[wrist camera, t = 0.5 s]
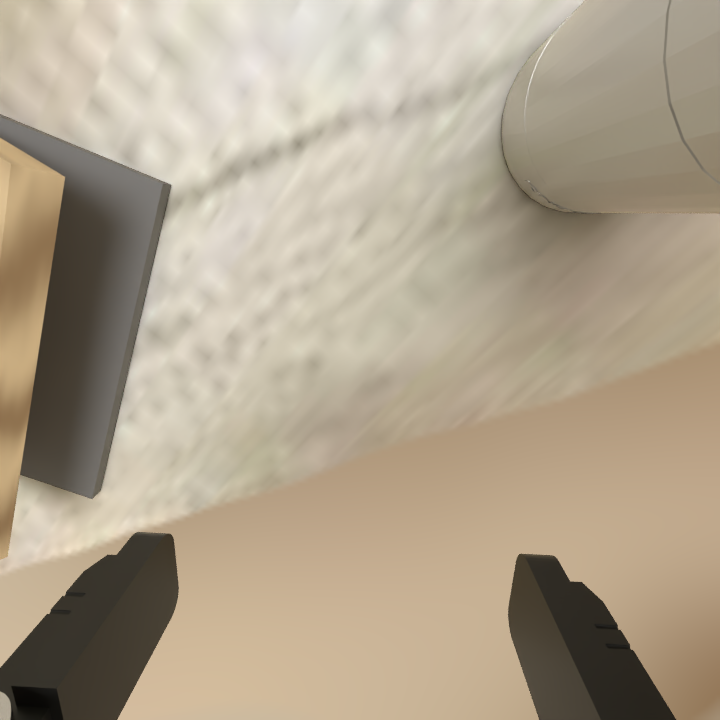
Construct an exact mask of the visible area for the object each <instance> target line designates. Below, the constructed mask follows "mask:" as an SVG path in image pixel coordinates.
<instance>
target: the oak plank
mask: <svg viewBox="0 0 720 720" xmlns="http://www.w3.org/2000/svg"><path fill="white" fill-rule="evenodd" d="M64 181H65V177H64V176H63V175H61V174H59V173H58V172H56V171H54V170H53V169H51V168H49V167H48V166H46V165H45V164H43V163H41V162H40V161H38V160H36V159H35V158H33V157H31V156H30V155H28V154H26V153H25V152H23V151H21V150H20V149H18V148H16V147H15V146H13V145H11V144H10V143H8V142H6V141H5V140H3V139H1V138H0V560H1V559H3V558H5V557H7V556H8V550H9V543H10V537H11V530H12V523H13V517H14V510H15V504H16V497H17V491H18V484H19V477H20V471H21V464H22V458H23V451H24V444H25V438H26V431H27V425H28V418H29V412H30V405H31V398H32V392H33V385H34V379H35V372H36V365H37V359H38V352H39V346H40V339H41V333H42V326H43V319H44V313H45V306H46V300H47V293H48V286H49V280H50V273H51V267H52V260H53V254H54V247H55V240H56V234H57V227H58V221H59V214H60V207H61V201H62V194H63V188H64Z"/></svg>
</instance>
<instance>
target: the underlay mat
mask: <svg viewBox="0 0 720 720" xmlns="http://www.w3.org/2000/svg"><path fill="white" fill-rule="evenodd" d="M0 138H1V139H3V140H5V141H6V142H8V143H10V144H11V145H13V146H15V147H16V148H18V149H20V150H21V151H23V152H25V153H26V154H28V155H30V156H31V157H33V158H35V159H36V160H38V161H40V162H41V163H43V164H45V165H46V166H48V167H49V168H51V169H53V170H54V171H56V172H58V173H59V174H61V175H63V176H64V177H65V181H64V188H63V194H62V201H61V207H60V214H59V221H58V227H57V234H56V240H55V247H54V254H53V260H52V267H51V273H50V280H49V286H48V293H47V300H46V306H45V313H44V319H43V326H42V333H41V339H40V346H39V352H38V359H37V365H36V372H35V379H34V385H33V392H32V398H31V405H30V412H29V418H28V425H27V431H26V438H25V444H24V451H23V458H22V464H21V471H20V475H23V476H26V477H29V478H32V479H35V480H38V481H41V482H44V483H47V484H50V485H52V486H55V487H58V488H61V489H64V490H67V491H70V492H73V493H76V494H79V495H82V496H85V497H88V498H91V499H93V498H94V497H95V496H96V495H97V494H98V493H99V492H100V490H101V486H102V482H103V477H104V473H105V469H106V464H107V460H108V456H109V451H110V447H111V443H112V438H113V434H114V430H115V425H116V421H117V417H118V412H119V408H120V404H121V399H122V395H123V391H124V386H125V382H126V378H127V373H128V369H129V365H130V360H131V356H132V352H133V347H134V343H135V339H136V334H137V330H138V326H139V321H140V317H141V313H142V308H143V304H144V300H145V295H146V291H147V287H148V282H149V278H150V274H151V269H152V265H153V261H154V256H155V252H156V248H157V243H158V239H159V235H160V230H161V226H162V222H163V217H164V213H165V209H166V204H167V200H168V196H169V191H170V187H171V185H170V184H168V183H165V182H163V181H161V180H158V179H156V178H153V177H151V176H149V175H146V174H144V173H141V172H139V171H136V170H134V169H132V168H129V167H127V166H124V165H122V164H119V163H117V162H115V161H112V160H110V159H107V158H105V157H102V156H100V155H98V154H95V153H93V152H90V151H88V150H85V149H83V148H81V147H78V146H76V145H73V144H71V143H68V142H66V141H64V140H61V139H59V138H56V137H54V136H52V135H49V134H47V133H44V132H42V131H39V130H37V129H35V128H32V127H30V126H27V125H25V124H22V123H20V122H18V121H15V120H13V119H10V118H8V117H5V116H3V115H1V114H0Z"/></svg>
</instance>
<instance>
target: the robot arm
mask: <svg viewBox="0 0 720 720" xmlns="http://www.w3.org/2000/svg"><path fill="white" fill-rule="evenodd" d="M501 136H502V144H503V152H504V156H505V159H506V162H507V165H508V168H509V171H510V173H511V174H512V176H513V178H514V179H515V181H516V182H517V184H518V186H519V187H520V188H521V189H522V190H523V191H524V192H525V193H526V194H527V195H528V196H529V197H530V198H532V199H533V200H535V201H537V202H538V203H540V204H542V205H543V206H545V207H548V208H552V209H555V210H558V211H562V212H574V213H716V214H720V0H585V1H584V2H583V3H582V4H581V5H580V6H579V7H578V8H577V9H576V10H575V11H574V12H573V13H572V14H571V15H570V16H569V17H568V18H567V19H566V20H565V21H564V22H563V23H562V24H561V25H560V26H559V27H558V28H557V29H556V31H555V32H554V33H553V34H552V35H551V36H550V37H549V38H548V39H547V40H546V41H545V42H544V43H543V44H542V45H541V46H540V47H539V48H538V49H537V50H536V51H535V52H534V53H533V54H532V55H531V56H530V57H529V59H528V60H527V62H526V63H525V65H524V66H523V67H522V69H521V70H520V72H519V73H518V75H517V77H516V79H515V81H514V83H513V85H512V87H511V90H510V92H509V94H508V97H507V101H506V105H505V109H504V112H503V119H502V134H501ZM175 557H176V556H175V548H174V539H173V537H172V535H171V534H165V533H164V534H163V533H146V532H137V533H135V534H134V535H133V536H132V537H131V538H130V539H129V540H128V542H127V543H126V544H125V545H124V546H123V548H122V549H121V550H120V551H119V553H118V554H117V555H107V556H106V557H104V558H102V559H101V560H100V561H98V562H97V563H95V564H94V565H92V566H91V567H90V568H88V569H87V570H85V571H84V572H83V573H82V574H81V575H80V577H79V578H78V579H77V580H76V581H75V582H74V583H73V585H72V586H71V587H70V588H69V589H68V590H67V592H66V595H65V596H62V597H61V598H60V600H59V601H58V602H57V603H56V604H55V605H54V607H53V608H52V609H51V612H50V614H47V615H46V616H45V617H44V618H43V619H42V621H41V622H40V623H39V624H38V625H37V626H36V627H35V628H34V630H33V631H32V632H31V633H30V634H29V635H28V637H27V638H26V639H25V640H24V641H23V642H22V644H21V645H20V646H19V647H18V648H17V649H16V650H15V652H14V653H13V654H12V655H11V656H10V658H9V659H8V660H7V661H6V662H5V663H4V664H3V666H2V667H1V668H0V720H117V719H118V717H119V715H120V713H121V711H122V710H123V708H124V706H125V704H126V702H127V700H128V698H129V696H130V694H131V693H132V691H133V689H134V687H135V685H136V683H137V681H138V679H139V677H140V676H141V674H142V672H143V670H144V668H145V666H146V664H147V663H148V661H149V659H150V657H151V655H152V653H153V651H154V649H155V648H156V646H157V644H158V642H159V640H160V638H161V636H162V634H163V633H164V630H165V629H166V627H167V625H168V623H169V621H170V619H171V617H172V615H173V613H174V610H175V607H176V603H177V598H178V589H179V587H178V576H177V566H176V558H175ZM508 617H509V627H510V633H511V637H512V640H513V643H514V646H515V649H516V652H517V655H518V658H519V660H520V664H521V667H522V670H523V673H524V676H525V679H526V682H527V685H528V688H529V691H530V693H531V696H532V699H533V702H534V705H535V708H536V711H537V714H538V717H539V720H676V719H675V717H674V715H673V714H672V712H671V711H670V709H669V707H668V706H667V704H666V702H665V701H664V700H663V698H662V696H661V694H660V693H659V691H658V690H657V688H656V686H655V685H654V684H653V682H652V680H651V678H650V677H649V675H648V673H647V672H646V670H645V669H644V667H643V665H642V664H641V662H640V661H639V659H638V657H637V656H636V654H635V652H634V651H633V650H631V649H630V644H629V643H628V641H627V640H626V638H625V636H624V635H623V633H622V632H621V630H618V625H617V623H616V622H615V620H614V619H613V617H612V616H611V614H610V612H609V611H608V609H607V607H606V606H605V604H604V603H603V601H602V600H600V599H599V598H598V597H597V596H596V595H595V594H594V593H593V592H592V591H591V590H590V589H588V588H587V587H586V586H585V585H584V584H583V583H582V582H570V580H569V579H568V577H567V575H566V574H565V572H564V570H563V568H562V566H561V565H560V563H559V561H558V560H557V558H556V557H555V556H550V555H533V554H519V555H518V557H517V560H516V565H515V572H514V577H513V583H512V589H511V595H510V601H509V611H508Z"/></svg>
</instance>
